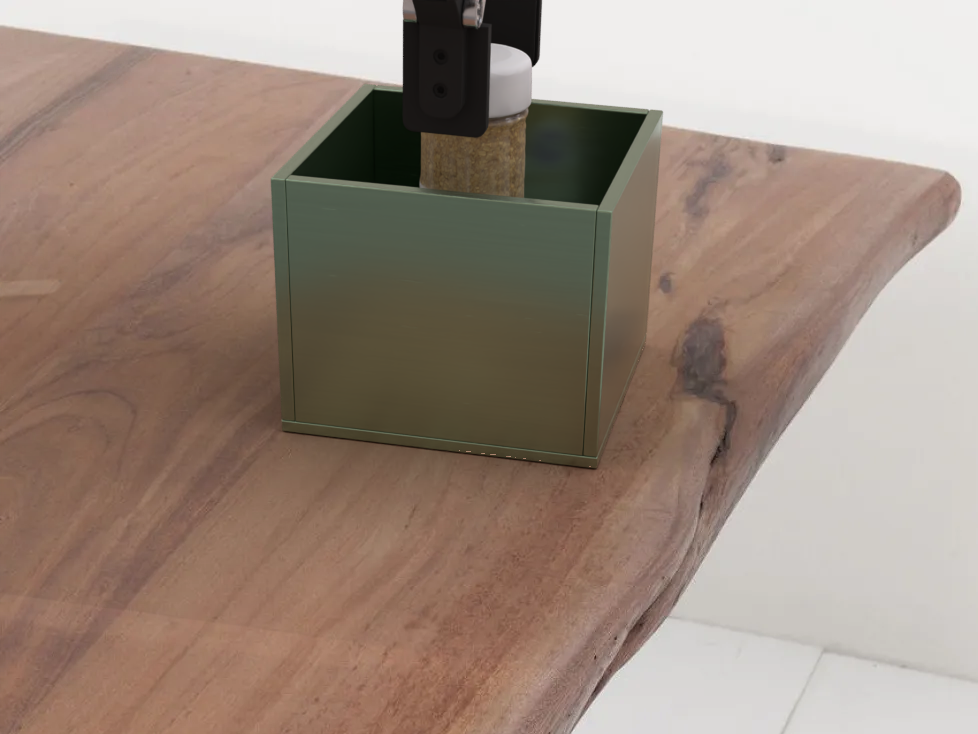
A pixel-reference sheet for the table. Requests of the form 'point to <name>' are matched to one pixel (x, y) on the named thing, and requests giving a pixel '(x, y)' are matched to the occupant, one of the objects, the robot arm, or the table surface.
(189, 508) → the table surface
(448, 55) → the robot arm
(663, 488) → the table surface
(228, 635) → the table surface
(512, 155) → the sprinkles bottle
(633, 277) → the bin
